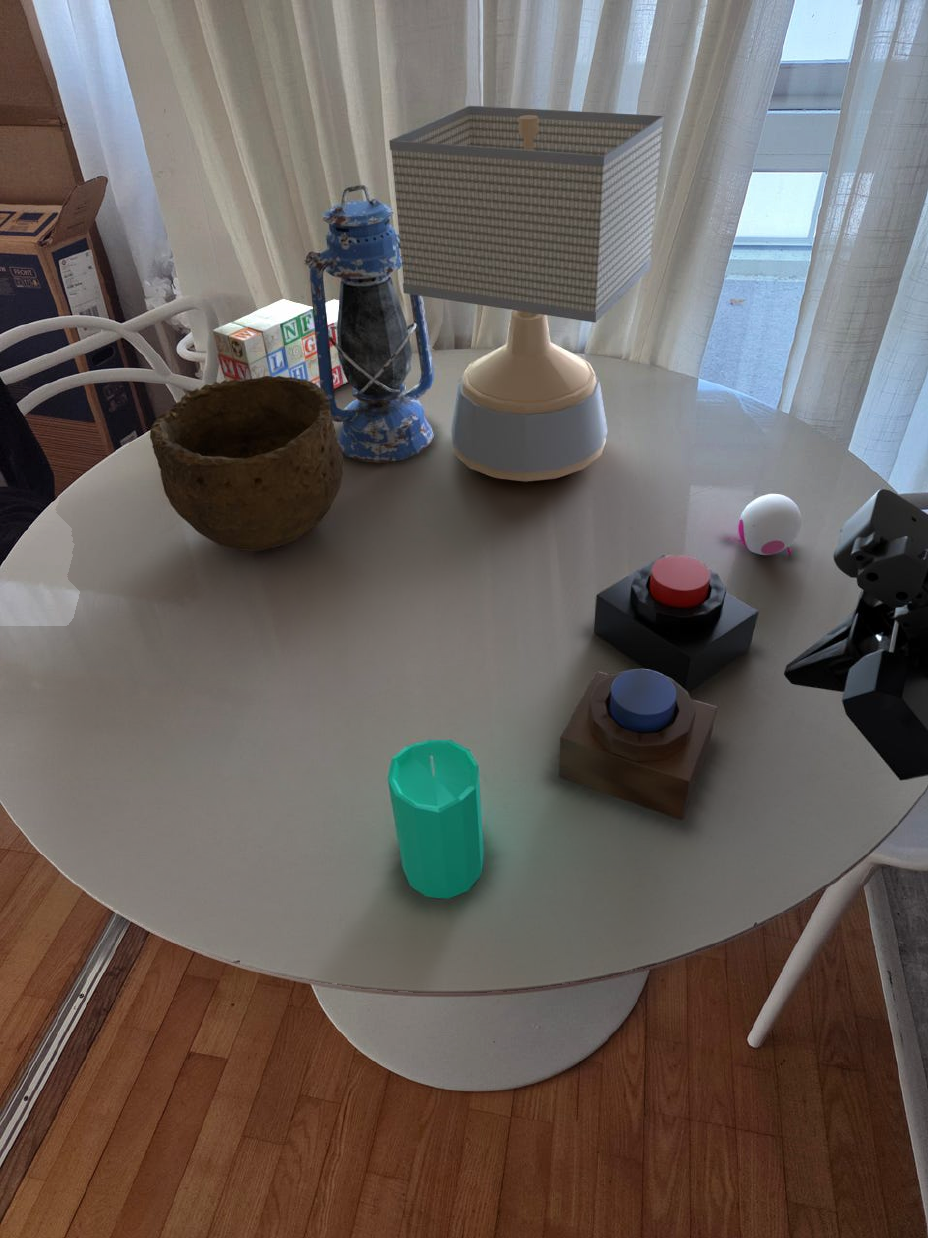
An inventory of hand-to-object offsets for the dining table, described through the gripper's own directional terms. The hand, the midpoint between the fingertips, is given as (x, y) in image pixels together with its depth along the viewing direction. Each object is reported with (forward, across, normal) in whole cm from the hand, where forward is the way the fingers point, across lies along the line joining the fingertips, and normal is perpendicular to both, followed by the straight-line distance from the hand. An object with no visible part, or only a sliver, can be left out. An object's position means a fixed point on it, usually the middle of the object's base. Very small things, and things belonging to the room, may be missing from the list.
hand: (788, 675), depth 57 cm
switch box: (+17, -15, +2) cm, 23 cm away
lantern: (+49, -38, -30) cm, 68 cm away
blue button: (+12, 0, -1) cm, 12 cm away
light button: (+13, -15, -2) cm, 20 cm away
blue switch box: (+16, 0, +3) cm, 16 cm away
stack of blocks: (+61, -45, -42) cm, 86 cm away
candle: (+23, +15, -4) cm, 28 cm away
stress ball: (+14, -33, +5) cm, 36 cm away
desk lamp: (+36, -41, -16) cm, 57 cm away
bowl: (+50, -14, -30) cm, 60 cm away
